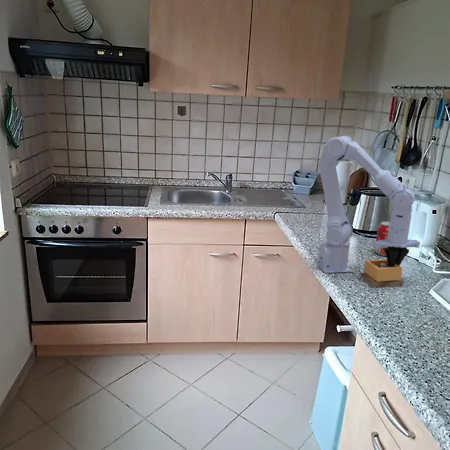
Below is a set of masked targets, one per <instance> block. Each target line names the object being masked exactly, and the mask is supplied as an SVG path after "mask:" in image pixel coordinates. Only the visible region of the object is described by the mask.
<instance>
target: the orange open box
mask: <svg viewBox="0 0 450 450" xmlns="http://www.w3.org/2000/svg"><path fill="white" fill-rule="evenodd" d="M380 263H386V264H387V265H386V267H385V268H381V265H380ZM363 273H366V274H367V275H369V276H370V277H371V278H373V279H374V280H375V281H377V282H379V281H392V280H402V273H403V267H402V266H401V265H400V266H399V265H397V264H395V266H394V267H388V262H387V258H384V259H368V260H364V269H363Z"/></svg>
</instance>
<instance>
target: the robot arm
mask: <svg viewBox="0 0 450 450" xmlns="http://www.w3.org/2000/svg"><path fill="white" fill-rule="evenodd" d="M343 159H346V160H351V161H355V162H356V163H357V164H358V165H359V166H360V167H361V168H363V169H364V170H365V171H366V172H367V173H368V174H370V176H372V177H373V184H374V185H375V186H376V187H377V188H378V189H379V190H380V191H381V192H382V193H383V194H384V195H385V196H386V197H387V198H388V199H390V202H391V203H390V204H391V205H392V211H391V213H390V220H389V222H390V225H389V232H388V239H385V240H380V241H376V240H373V245H372V247H373V248H374V249H375V248H376V249H379V248H383V249H384V251H385V254H386V256H385V257H386V259H387V262H388V267H394V266H395V264H397V265H399V266H400V267H401V264H402V262H403V260H404V259H405V258H406V256H407V255H408V254H409V253H410V249H409V248H417V249H418V248H420V244H421V242H420V240H417V239H409V234H410V226H411V220H412V212H413V206H412V205H413V204H414V202H415V200H416V194H415V192H414V191H413V189H412V188H409V187H408V185H407V184H406V183H404V184H403V183H402V182H401V180H399V179H398V178H397V177H396V176H397V175H396V172H394V171H392V172H391V171H390V170H389V169H388V170H387V169H386V170H385V169H382V168H381V167H380V166H379V165H378V164H377V163H376V162H375V160H374V159H373V158H371V156H370V155H369V154H368V153H367V152H366V150H365V149H363V147H361V145H360V144H359V143H358V142H357V141H354V139H352V137H350V136H349V135H341V136H335V137H334V136H333V137H331V138H329V140H328V141H327V142H326V143H325V144H324V145H323V151H322V154H321V157H320V159H319V162H318V168H319V173H320V178H321V184H322V190H323V193H324V201H325V204H326V205H325V206H326V210H327V211H326V212H327V217H328V218H327V223H326V229H327V230H326V233H325V239H326V242H324V243H320V244H319V246H318V253H317V262H316V266H317V267H318V268H319V269H320V270H321V271H322V272H324V273H325V274H329V273H331V274H333V273H351V272H352V269H350V268H349V267H348V262H349V261H348V260H349V251H350V241H349V239H350V237H351V236H352V235H353V227H352V226H351V224H350V223H349V220H348V219H349V218H348V217H347V215H346V213H345V210H344V205H343V204H344V203H343V199H342V193H341V187H340V183H339V177H338V172H337V166H338V165H339V164H340V162H341V161H342V160H343Z"/></svg>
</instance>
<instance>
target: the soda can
mask: <svg viewBox="0 0 450 450" xmlns="http://www.w3.org/2000/svg"><path fill="white" fill-rule="evenodd" d="M389 225H390V221H387V220H386V221H381V222H380V224H379V225H378V227H377V232H376V239H375V241H380V240H385V239H388V232H389ZM374 250H375V253H376V254H378V255H379V256H381V257H386V254H385V251H384V249H383V248H379V249H376V248H374Z"/></svg>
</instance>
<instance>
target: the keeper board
mask: <svg viewBox="0 0 450 450" xmlns="http://www.w3.org/2000/svg"><path fill="white" fill-rule="evenodd" d="M380 265H381V268H385V267H386V265H387V264H386V263H380ZM360 279H362V280H363V281H364V282H366V283H367V284H368V285H369V286H370V287H372V288H392V287H394V288H395V287H403V285H404V281H403V280H402V279H401V280H392V281H379V282H377V281H375V280H374V279H373V278H371V277H370V276H369V275H367V274H366V273H365V272H360Z"/></svg>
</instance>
